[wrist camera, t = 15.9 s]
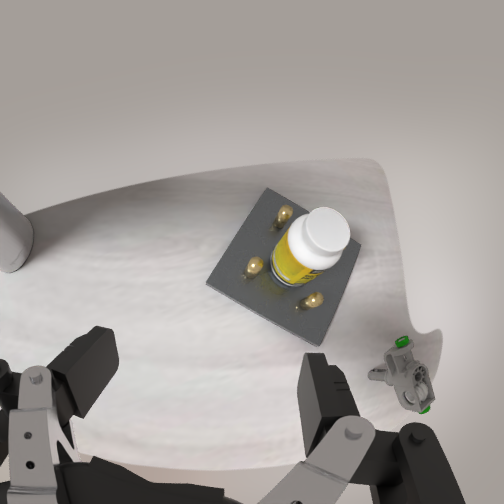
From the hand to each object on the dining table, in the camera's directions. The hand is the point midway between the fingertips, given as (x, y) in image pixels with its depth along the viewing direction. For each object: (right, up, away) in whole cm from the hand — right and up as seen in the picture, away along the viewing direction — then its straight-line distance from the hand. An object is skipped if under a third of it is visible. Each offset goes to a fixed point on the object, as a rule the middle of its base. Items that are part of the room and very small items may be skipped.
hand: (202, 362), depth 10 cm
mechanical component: (+19, -13, +23) cm, 32 cm away
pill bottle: (+7, +3, +25) cm, 26 cm away
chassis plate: (+7, +3, +26) cm, 27 cm away
